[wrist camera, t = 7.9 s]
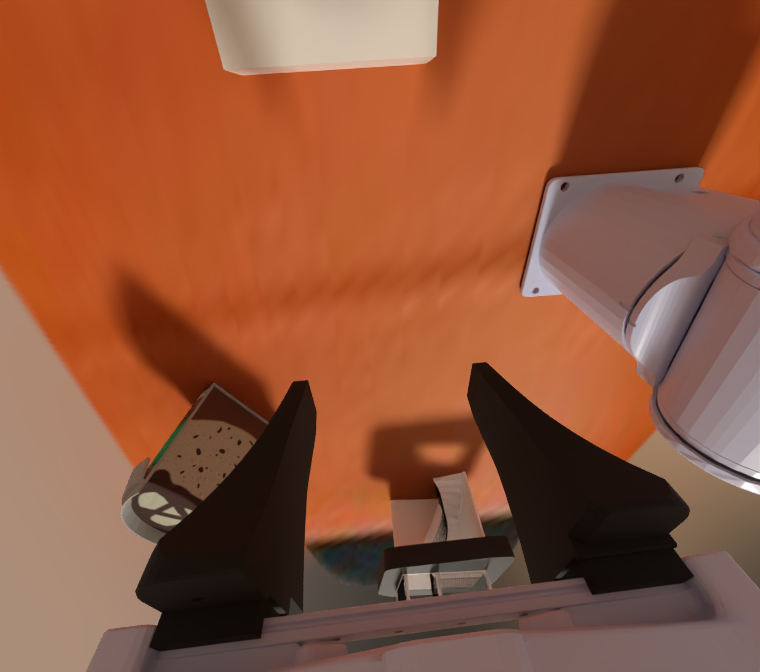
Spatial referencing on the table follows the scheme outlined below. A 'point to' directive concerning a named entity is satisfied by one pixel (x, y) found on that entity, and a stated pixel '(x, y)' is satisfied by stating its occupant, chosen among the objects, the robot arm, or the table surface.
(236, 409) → the food container
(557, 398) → the table surface
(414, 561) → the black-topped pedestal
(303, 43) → the base block
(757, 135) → the table surface
